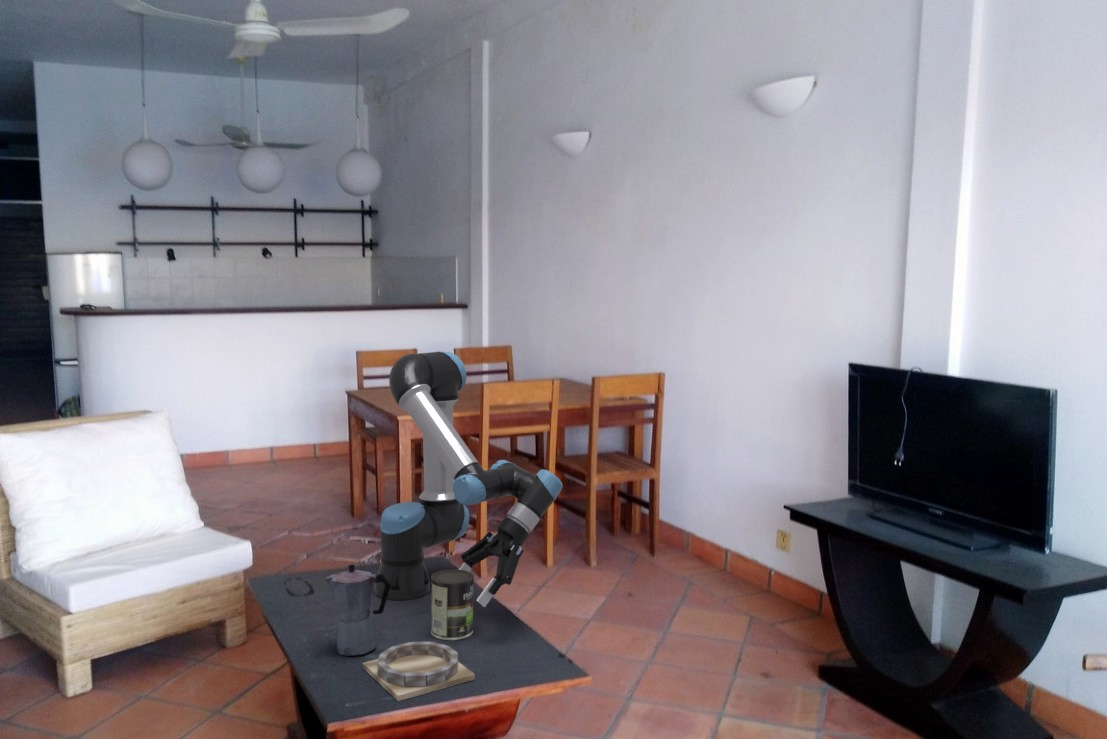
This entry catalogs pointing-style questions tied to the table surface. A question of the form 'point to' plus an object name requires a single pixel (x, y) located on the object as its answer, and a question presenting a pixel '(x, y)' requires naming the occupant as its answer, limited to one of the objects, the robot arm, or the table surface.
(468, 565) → the robot arm
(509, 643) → the table surface
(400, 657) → the ring board
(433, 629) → the coffee can
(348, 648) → the moka pot
